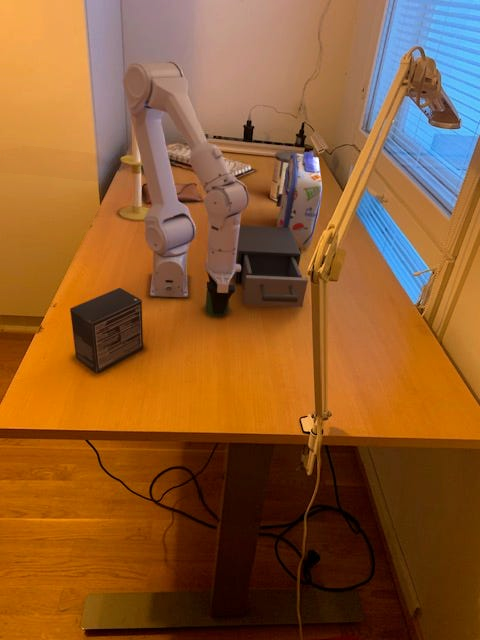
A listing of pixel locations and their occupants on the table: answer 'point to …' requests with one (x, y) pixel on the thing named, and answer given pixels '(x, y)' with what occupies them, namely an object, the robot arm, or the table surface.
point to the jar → (209, 307)
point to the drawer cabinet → (265, 243)
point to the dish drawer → (272, 281)
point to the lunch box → (300, 197)
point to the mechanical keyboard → (181, 158)
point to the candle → (134, 184)
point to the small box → (107, 329)
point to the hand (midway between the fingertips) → (217, 305)
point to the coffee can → (279, 173)
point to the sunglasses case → (182, 190)
